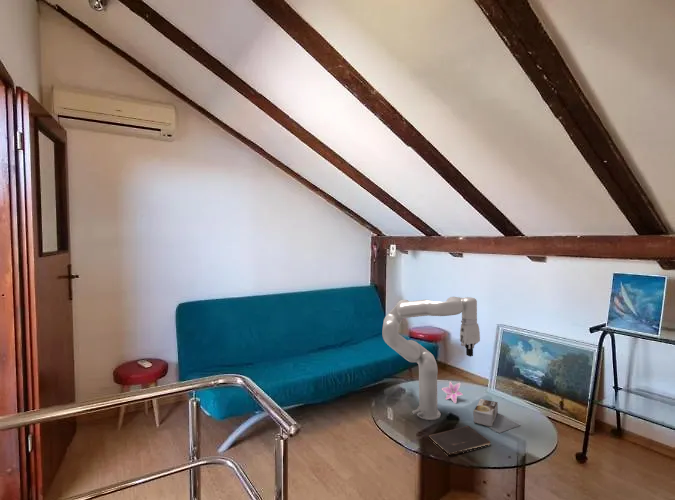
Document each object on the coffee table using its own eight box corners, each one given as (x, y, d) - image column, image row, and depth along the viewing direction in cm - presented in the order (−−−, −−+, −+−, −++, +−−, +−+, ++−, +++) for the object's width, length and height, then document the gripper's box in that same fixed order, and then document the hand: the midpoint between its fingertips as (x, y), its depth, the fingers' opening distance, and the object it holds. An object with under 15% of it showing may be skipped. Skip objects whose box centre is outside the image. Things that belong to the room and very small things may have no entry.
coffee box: (492, 427, 189) (498, 413, 202) (491, 414, 189) (498, 401, 202) (473, 422, 194) (480, 409, 207) (472, 410, 194) (480, 398, 207)
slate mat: (499, 433, 184) (499, 432, 184) (477, 420, 197) (477, 419, 197) (520, 425, 191) (520, 425, 191) (497, 413, 203) (497, 413, 203)
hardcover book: (490, 446, 174) (490, 441, 174) (448, 458, 167) (448, 453, 167) (467, 429, 189) (467, 425, 189) (428, 439, 182) (428, 434, 182)
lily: (440, 396, 228) (437, 386, 223) (456, 386, 230) (453, 376, 226) (453, 410, 218) (450, 400, 213) (469, 400, 220) (467, 389, 216)
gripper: (463, 324, 192) (464, 360, 193) (485, 320, 198) (485, 355, 199) (453, 321, 198) (453, 355, 199) (474, 318, 205) (474, 351, 206)
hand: (469, 355), depth 199 cm, fingers closed
